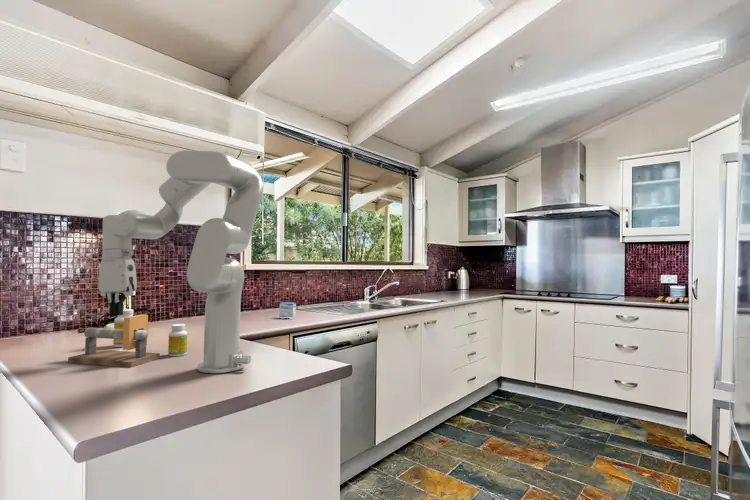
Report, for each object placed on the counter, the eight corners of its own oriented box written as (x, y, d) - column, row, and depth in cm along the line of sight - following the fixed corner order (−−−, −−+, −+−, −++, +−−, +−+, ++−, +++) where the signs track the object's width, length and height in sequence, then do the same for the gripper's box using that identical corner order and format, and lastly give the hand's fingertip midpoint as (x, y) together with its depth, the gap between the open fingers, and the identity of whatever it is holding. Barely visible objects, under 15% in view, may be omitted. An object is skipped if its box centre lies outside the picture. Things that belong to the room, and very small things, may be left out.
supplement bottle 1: (124, 348, 137) (125, 311, 137) (108, 347, 138) (109, 310, 139) (139, 344, 143) (140, 309, 144) (124, 343, 145) (125, 308, 145)
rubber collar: (147, 345, 122) (148, 314, 123) (128, 350, 115) (129, 317, 116) (141, 344, 123) (142, 314, 123) (122, 349, 116) (124, 317, 116)
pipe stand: (159, 358, 123) (160, 327, 124) (131, 367, 113) (132, 333, 113) (100, 354, 128) (101, 324, 128) (68, 362, 117) (69, 329, 117)
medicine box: (279, 319, 213) (279, 302, 214) (282, 317, 218) (282, 302, 218) (292, 319, 212) (293, 303, 212) (295, 318, 216) (296, 302, 217)
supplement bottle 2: (181, 356, 126) (182, 326, 126) (164, 356, 126) (165, 325, 126) (189, 353, 131) (190, 323, 131) (173, 352, 131) (174, 323, 132)
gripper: (147, 255, 124) (147, 314, 123) (107, 256, 127) (106, 313, 126) (127, 254, 116) (127, 317, 116) (85, 255, 119) (84, 316, 119)
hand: (116, 315), depth 121 cm, fingers closed
